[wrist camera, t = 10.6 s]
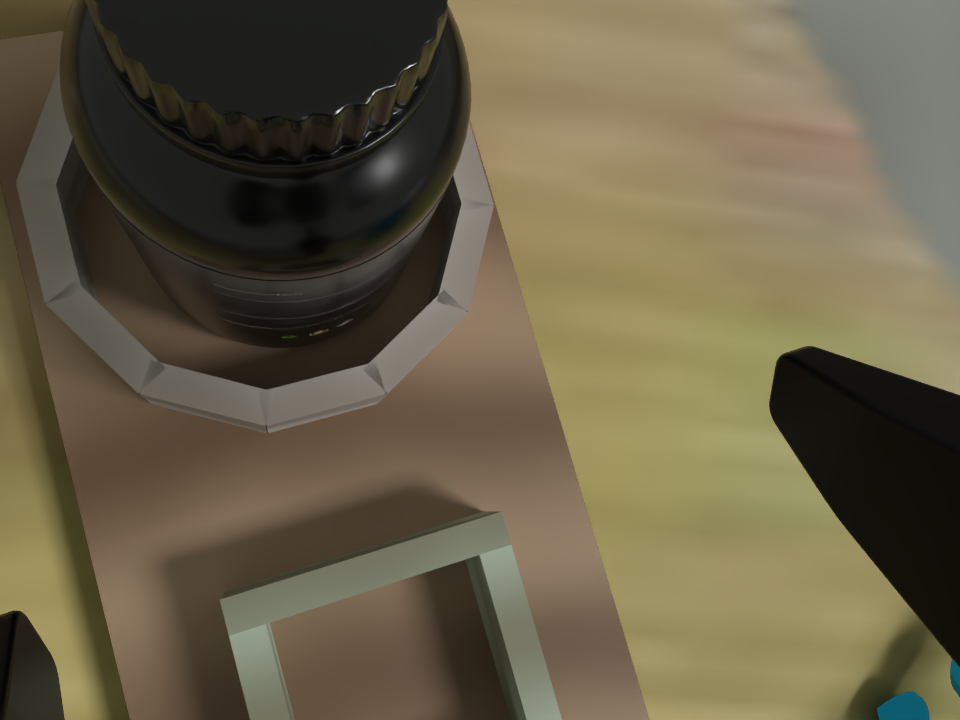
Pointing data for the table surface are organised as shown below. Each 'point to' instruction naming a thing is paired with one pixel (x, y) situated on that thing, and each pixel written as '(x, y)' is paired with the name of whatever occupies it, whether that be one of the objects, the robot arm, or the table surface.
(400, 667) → the socket board
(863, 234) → the table surface
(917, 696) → the gear
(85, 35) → the supplement bottle
